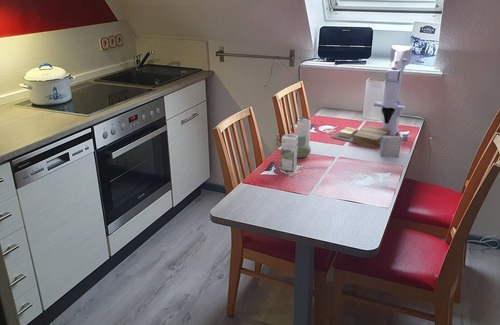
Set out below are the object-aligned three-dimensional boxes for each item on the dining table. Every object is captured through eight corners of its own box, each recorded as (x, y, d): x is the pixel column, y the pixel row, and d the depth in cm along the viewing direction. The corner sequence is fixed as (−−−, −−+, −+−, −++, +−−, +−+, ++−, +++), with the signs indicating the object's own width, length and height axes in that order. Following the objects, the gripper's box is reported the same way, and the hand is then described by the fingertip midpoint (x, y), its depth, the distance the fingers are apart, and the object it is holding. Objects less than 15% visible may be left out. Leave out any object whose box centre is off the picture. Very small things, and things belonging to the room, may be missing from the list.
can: (311, 142, 221) (312, 118, 216) (306, 146, 215) (308, 122, 211) (298, 139, 223) (299, 116, 219) (294, 144, 218) (295, 120, 213)
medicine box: (397, 153, 208) (399, 135, 205) (399, 157, 204) (401, 139, 201) (379, 153, 209) (381, 135, 205) (380, 156, 205) (383, 138, 201)
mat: (346, 128, 240) (346, 127, 240) (365, 132, 234) (365, 131, 234) (331, 137, 226) (331, 137, 226) (351, 142, 221) (351, 141, 221)
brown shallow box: (366, 132, 234) (367, 125, 233) (389, 137, 228) (390, 129, 226) (352, 142, 221) (353, 134, 219) (376, 148, 214) (377, 140, 213)
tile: (357, 129, 231) (357, 133, 232) (346, 127, 235) (346, 130, 235) (350, 134, 225) (349, 137, 225) (339, 131, 228) (338, 135, 229)
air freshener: (288, 159, 200) (289, 138, 196) (283, 153, 208) (284, 132, 204) (312, 158, 202) (314, 137, 198) (306, 151, 210) (308, 130, 206)
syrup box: (296, 166, 193) (298, 134, 188) (293, 172, 188) (295, 139, 182) (283, 165, 195) (285, 133, 189) (280, 170, 190) (281, 137, 184)
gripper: (372, 94, 214) (369, 122, 220) (403, 99, 207) (399, 128, 212) (378, 91, 220) (374, 118, 225) (408, 96, 212) (404, 124, 217)
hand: (386, 123), depth 219 cm, fingers closed
